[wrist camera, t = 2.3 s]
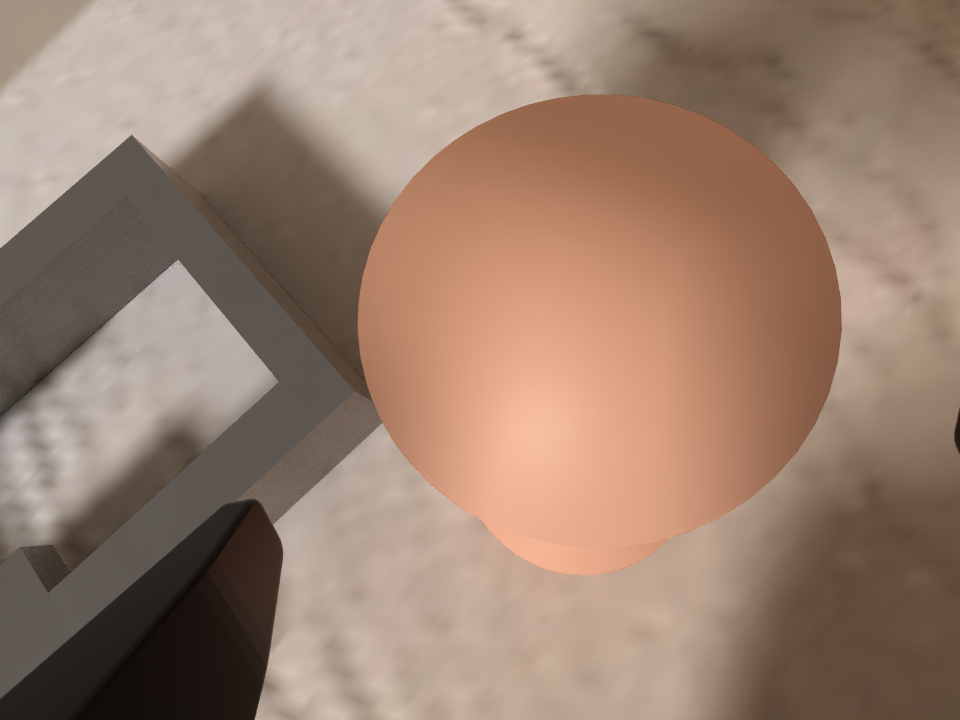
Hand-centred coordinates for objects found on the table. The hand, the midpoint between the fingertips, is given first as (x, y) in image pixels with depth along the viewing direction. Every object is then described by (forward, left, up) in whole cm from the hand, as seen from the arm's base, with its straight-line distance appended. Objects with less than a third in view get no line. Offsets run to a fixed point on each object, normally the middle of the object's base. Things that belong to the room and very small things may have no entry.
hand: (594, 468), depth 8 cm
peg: (+1, 0, -9) cm, 9 cm away
